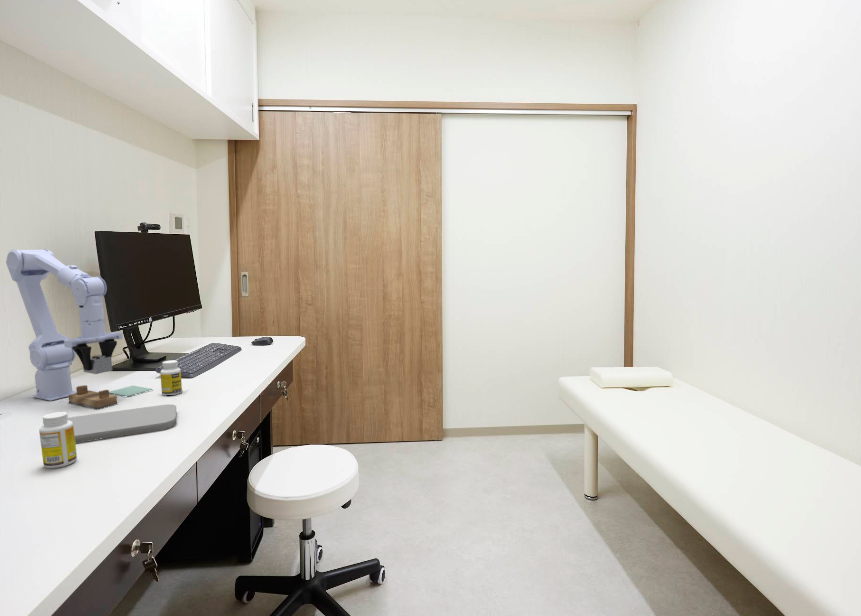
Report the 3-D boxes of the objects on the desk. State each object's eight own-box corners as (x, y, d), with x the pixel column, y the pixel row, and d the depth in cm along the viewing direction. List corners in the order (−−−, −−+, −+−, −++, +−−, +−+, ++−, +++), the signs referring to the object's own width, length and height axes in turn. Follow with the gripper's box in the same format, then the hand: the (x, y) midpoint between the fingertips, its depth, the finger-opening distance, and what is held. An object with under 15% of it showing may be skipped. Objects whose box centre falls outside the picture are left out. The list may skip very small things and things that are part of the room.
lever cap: (83, 371, 144) (81, 355, 143) (100, 368, 148) (98, 352, 147) (95, 374, 141) (94, 357, 141) (112, 370, 145) (110, 354, 145)
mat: (107, 393, 155) (107, 392, 155) (132, 386, 162) (132, 385, 162) (127, 397, 150) (127, 395, 150) (153, 390, 157) (153, 388, 157)
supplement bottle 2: (174, 396, 150) (171, 363, 149) (157, 396, 151) (155, 363, 150) (186, 391, 155) (183, 359, 154) (170, 390, 156) (168, 359, 155)
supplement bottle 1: (72, 455, 107) (67, 408, 106) (81, 462, 104) (75, 413, 103) (40, 464, 103) (34, 415, 102) (47, 472, 100) (42, 421, 98)
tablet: (59, 427, 126) (58, 418, 126) (177, 411, 137) (176, 403, 137) (43, 450, 112) (42, 440, 111) (176, 430, 123) (175, 421, 123)
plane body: (68, 403, 145) (67, 388, 145) (88, 398, 150) (87, 383, 150) (97, 409, 139) (95, 393, 138) (117, 404, 144) (116, 388, 143)
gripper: (72, 325, 135) (77, 375, 136) (126, 317, 147) (131, 363, 149) (57, 323, 138) (63, 372, 140) (112, 316, 151) (116, 361, 152)
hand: (97, 368), depth 145 cm, fingers closed on lever cap, 4 cm apart
